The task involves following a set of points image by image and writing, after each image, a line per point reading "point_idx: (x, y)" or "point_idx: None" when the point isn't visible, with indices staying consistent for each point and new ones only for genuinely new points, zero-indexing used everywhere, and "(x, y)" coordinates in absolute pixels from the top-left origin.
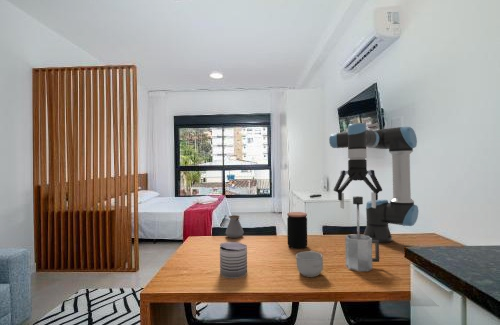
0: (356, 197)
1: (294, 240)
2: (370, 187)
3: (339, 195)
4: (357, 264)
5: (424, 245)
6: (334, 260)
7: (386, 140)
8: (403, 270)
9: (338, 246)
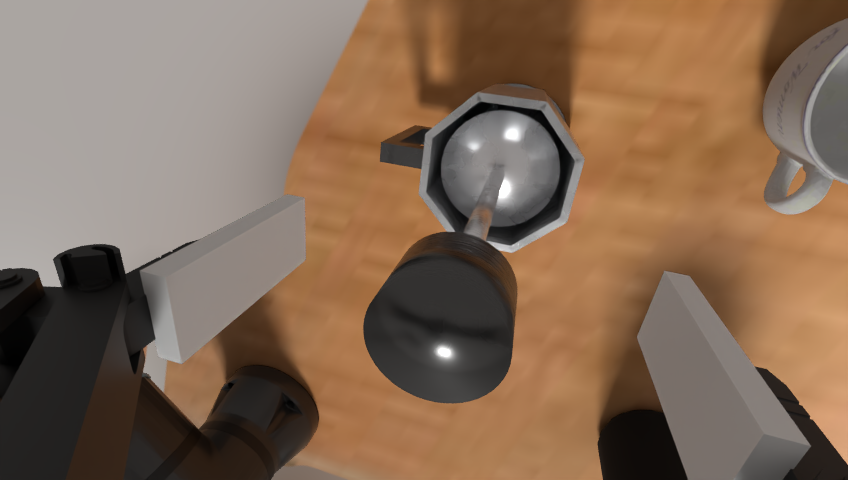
0: (488, 301)
1: None
2: (119, 401)
3: (818, 441)
4: (546, 94)
5: None
6: (573, 243)
7: None
8: (340, 74)
9: None
